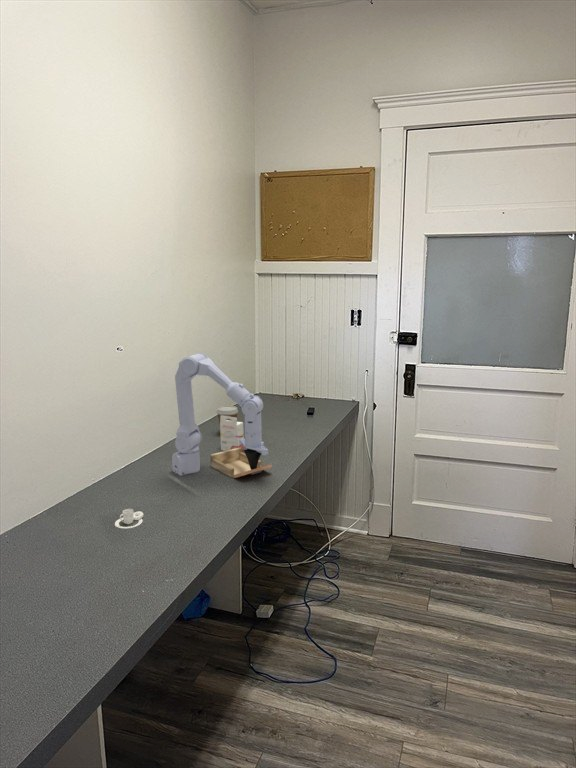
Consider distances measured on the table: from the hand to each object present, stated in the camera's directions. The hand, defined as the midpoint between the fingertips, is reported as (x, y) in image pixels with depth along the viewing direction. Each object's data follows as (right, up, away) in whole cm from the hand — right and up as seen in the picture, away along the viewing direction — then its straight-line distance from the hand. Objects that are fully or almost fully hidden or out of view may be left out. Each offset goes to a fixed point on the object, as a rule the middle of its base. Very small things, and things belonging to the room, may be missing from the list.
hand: (253, 469), depth 196 cm
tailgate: (-2, -2, +3) cm, 4 cm away
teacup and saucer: (-32, -12, -30) cm, 45 cm away
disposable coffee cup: (-15, +7, +54) cm, 56 cm away
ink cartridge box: (-11, +3, +33) cm, 35 cm away
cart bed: (-7, -2, +10) cm, 12 cm away
